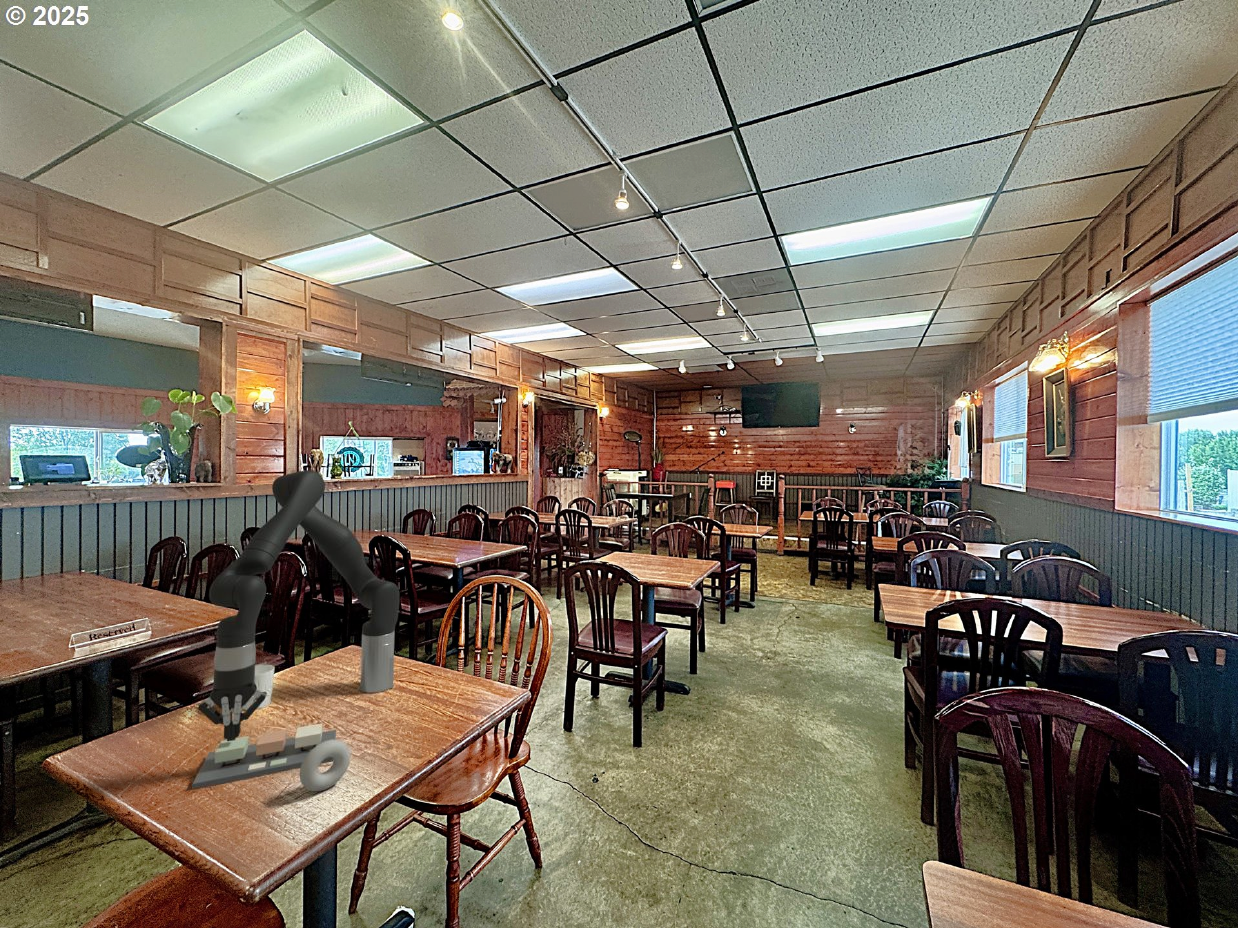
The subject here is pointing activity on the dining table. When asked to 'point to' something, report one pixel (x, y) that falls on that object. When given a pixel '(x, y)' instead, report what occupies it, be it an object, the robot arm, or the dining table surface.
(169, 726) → the dining table surface
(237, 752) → the sage key
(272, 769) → the keypad plate
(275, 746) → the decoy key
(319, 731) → the cream key
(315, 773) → the donut
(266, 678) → the white cup
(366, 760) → the dining table surface
